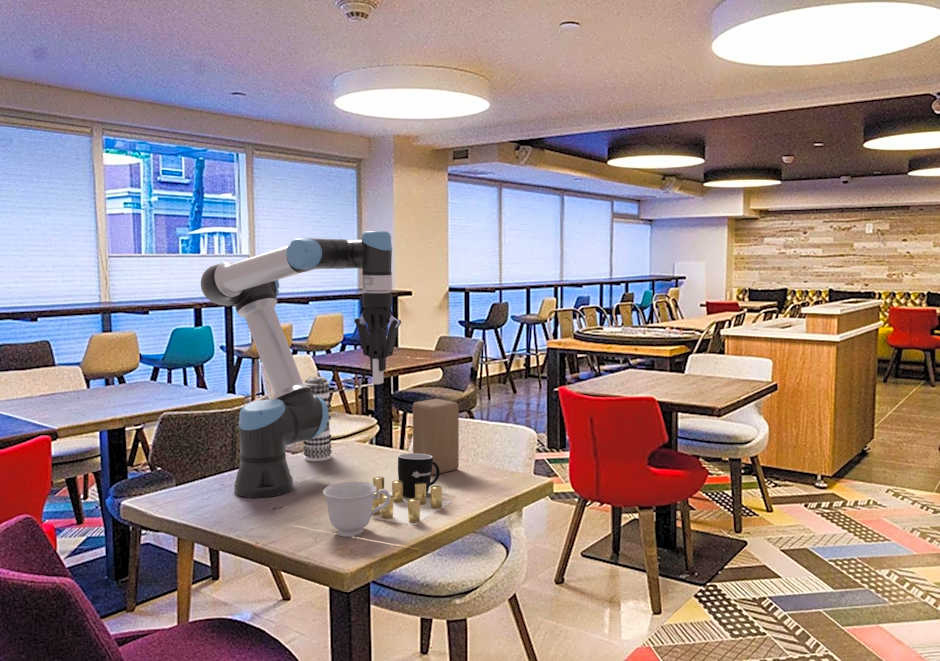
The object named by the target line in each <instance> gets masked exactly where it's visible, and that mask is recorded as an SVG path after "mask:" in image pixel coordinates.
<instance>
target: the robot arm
mask: <svg viewBox="0 0 940 661" xmlns="http://www.w3.org/2000/svg"><path fill="white" fill-rule="evenodd" d="M392 246H393V245H392V236H391V233H390V232H388V231H385V230H384V231H382V230H381V231H380V230H379V231H378V230H367V231H364V230H363V231H362V233H361V238H360V239H342V238H340V239H338V238H332V239H331V238H311V237H310V238H309V237H302V238H295V239H293V240H291V242H290V243H289V244H288V245H287V246H283V247H280V248H276V249H274V250H270V251H267V252H264V253H261V254H258V255H255V256H252V257H248V258H245V259H243V260H240V261H236V262H232V261H224V262H220V263H218V264H214V265H211V266H209V267H208V268H207V269H206V270H205V271H204V272H203V274H202V276H201V279H200V288H201V292H202V294H203V295H204V297H205V298H206V299H207V300H208V301H210V302H211V303H213V304H216V305H219V306H234V308H235V310H236V312H237V315H238V316H240V317H242V318H244V319H245V322H246V324H247V326H248V327H247V328H248V330H249V331H250V334H251V337H252V339H253V343H254V346H255V348H256V350H257V354H258V356H259V358H260V361H261V364H262V366H263V369H264V372H265V375H266V377H267V380H268V383H269V385H270V388H271V390H272V393H273V396H272V397H271V398H266V399H263V400H262V399H260V400H254V401H252V402H250V403H247V404H245V405H244V406H242V408H241V409H240V411H239V420H238V429H239V450H240V451H239V454H240V455H239V456H240V464H239V467H238V470H237V475H236V476H235V477H236V478H235V480H234V483H233V484H234V486H233V487H234V494H236V495H238V496H240V497H245V498H255V499H256V498H269V497H275V496H280V495H283V494H286V493H289V492H291V491H292V490H293V488H294V480H293V476H292V475H291V471H290V467H289V465H288V463H287V457H286V456H287V455H286V446H289V445H293V444H297V443H299V442H300V443H301V442H304V440H310V439H311V438H313V437H316V436H318V435H320V434H321V433H322V432H323V431H324V430H325V428H326V426H327V423H328V418H329V416H330V413H328V408H327V405H326V403H325V401H324V400H323V399H321V398H320V397H318V396H314V395H313V393H312V390H311V388H310V387H309V386H307V385H305V384H303V383H304V382H303V380H302V379H303V378H302V377H301V374H300V371H299V369H298V367H297V364H296V361H295V359H294V357H293V354H292V351H291V348H290V346H289V344H288V340H287V338H286V335H285V332H284V330H283V327H282V325H281V322H280V319H279V318H278V317H279V316H278V314H277V312H276V310H275V308H276V306H277V303H278V300H277V298H278V296H279V293H280V290H279V288H280V281H279V280H282V279H284V278H288V277H292V276H295V275H298V274H302V273H306V272H310V271H313V270H324V269H325V270H326V269H327V270H329V269H333V270H334V269H335V270H339V269H341V270H344V269H350V270H351V269H360V270H361V275H362V277H361V278H362V280H361V282H362V291H363V293H362V295H361V296H362V307H363V310H362V314H361V315H360V317H358V318H355V319H354V320H353V321H354V323H355V325H356V327H357V330H358V335H359V340H360V345H361V349H362V350H361V351H362V354H363V356H367V357H368V358H369V360H370V362H369V364H370V365H369V366H370V367H369V369H370V371H372V384H373V385H381V384H384V372H385V371H386V368H387V364H386V363H387V358H389V357H392V356H393V353H394V350H395V344H396V338H397V333H398V330H399V327H400V326H401V324H402V320H401V319H397V318H396V317H394V314H393V311H392V307H393V294H392V293H391V292H390V291H392V290H393V276H392V274H393V273H392V262H393V261H392V260H393V259H392V258H393V256H392V254H393V247H392ZM388 325H389V327H388Z"/></svg>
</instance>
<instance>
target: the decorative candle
mask: <svg viewBox="0 0 940 661" xmlns="http://www.w3.org/2000/svg"><path fill="white" fill-rule="evenodd" d="M303 384H305V385H307V386H309V387H310V388H311V390H312V393H313V395H314V396H318V397H320V398H321V399H323V400H324V401H325V403H326V405H327V408H328V413H329V414H330V413H332V409H330V408H332V404H330V403H329V402H332V400H333V399H332V398H331V394H330V389H329V387H330V385H329V384H330V381H328V380H327V378H326V377H323V376H311V377H307V378H306V380H305V381H304V382H303ZM331 419H332V416H331V415H329V418H328V423H327V426H326V428H325V430H324V431H323V432H322V433H321V434H320V435H318V436H316V437H313V438H311V439H310V440H303V441H302V442H303V444H304V446H303V448H302V449H303V452H302V454H303V455H304V456H303V459H304V460H305V461H308V462H323V461H327V460H330V459H331V458H332V453H333V452H332V450H331V449H332V445H331V442H332V439H331V438H332V434H331V429H330V422H331Z"/></svg>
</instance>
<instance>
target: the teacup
mask: <svg viewBox="0 0 940 661" xmlns="http://www.w3.org/2000/svg"><path fill="white" fill-rule="evenodd" d="M376 491H377V488H376V487H375V486H374V485H373V483H369V482H366V481H365V482H364V481H343V482H338V483H334V484H333V483H332V484H330V485H328V486H326V487H325V488H324V489H323V490H322V494H323V495H324V496H325V499H326V504H327V511H328V517H329V518H328V519H329V521H330V523H331V525H332V527H333V528H335V529H337V535H339V536H341V537H345V538H353V537H355V536H357V535H360V534H362V533H364V528H365V527H366V526H368V525H369V523H370V521H371V519H372V518H371V517H372V515H373V514H374V513H375V512H376V511H378V510H381V509H383V508H385V507H386V506H387V505H388V504H389V502H390V494H389V492H390V491H389V490H388V489H386V488H384V489H380V490H378V492H377V496H376V494H374V493H375V492H376ZM380 494H385V495H386V501H385V502H384V503H383V504H382V505H380V506H378V507H376V508H375V509H374V510H373V511H372V505H373V498H375V499H378V498H379V495H380Z"/></svg>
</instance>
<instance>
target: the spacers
mask: <svg viewBox="0 0 940 661" xmlns="http://www.w3.org/2000/svg"><path fill="white" fill-rule="evenodd" d="M391 484H392V485H391V492H392V495H390V502H389V504H388V505H387V506H386V507H385V508H383V509H381V510H378V511H376V512H375V513H374V514H373V515H380V514H381V518H383V519H391V518H393V502H395V503H400V502H403V501H404V496H403V481H402V480H399V479H396V480H395V479H394V480H393V481H392V482H391ZM372 485H374V486H375V487H376V488H377V491H376V492H375V493H374V494H376V496H377V492H378V490H380V489H385V477H383V476H375V477H373V478H372ZM426 498H427V495H426V483H425V482H417V483H415V498H411V499H408V522H410V523H417V522H419V523H421V522H420V505H424V504H426ZM430 498H431V508H433V509H440V508H441V509H442V500H443V487H442V486H441V485H431V486H430ZM385 501H386V495H384V494H380V495H379V498H378V499H375V498H373V505H372V511H373V510H374V509H375V508H376V507H378V506H380V505H382V504H383V503H384V502H385ZM441 509H440V510H441ZM417 524H418V523H417Z"/></svg>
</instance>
